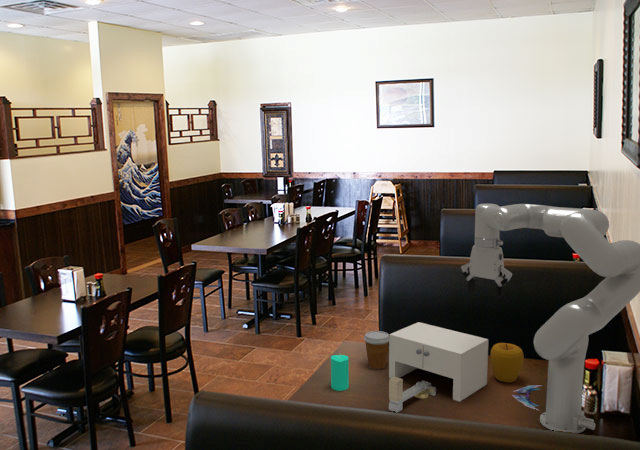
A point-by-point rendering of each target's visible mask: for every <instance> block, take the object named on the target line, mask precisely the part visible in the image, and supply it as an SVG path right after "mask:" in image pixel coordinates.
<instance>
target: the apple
mask: <svg viewBox="0 0 640 450" xmlns="http://www.w3.org/2000/svg"><path fill="white" fill-rule="evenodd" d="M524 356H525V355H524V351H523V349H522V348H521V347H520V346H518V345H516V344H513V343H508V342H507V343H506V342H498V343H495V344H493V346H492V347H491V348H490V364H491V369H492V372H493V376H494V377H495V379H496V380H497V381H499V382H502V383H507V384H508V383H509V384H510V383H513V382H514V381H515V382H516V381H517V379H518V377H519V375H520V374H521V372H522V369H523V366H524V362H525V361H524V360H525V359H524V358H525V357H524Z"/></svg>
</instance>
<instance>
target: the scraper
mask: <svg viewBox="0 0 640 450" xmlns="http://www.w3.org/2000/svg"><path fill="white" fill-rule="evenodd" d="M403 381H404V378H401V377H400V378H398V377H393V378H391V379H390V378H388V400H389V402H388V411H391V412H393V411H395V412H396V414H397V413H399V412H401V411H403V402H405V401H407V400H408V399H411V398H412V397H414V395H416V394H418V393H419V392H421V391H423V390H426V391H428V393H429V395H430V396H433V397H435V396H436V395H437V387H435V386H432V383H431V382H429V381H425V380H421V381H417V382H416V384H414V385H413V386H411V387H409V388H407V389H405V390H403V387H404V384H403ZM395 412H394V413H395Z"/></svg>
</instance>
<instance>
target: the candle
mask: <svg viewBox="0 0 640 450" xmlns="http://www.w3.org/2000/svg"><path fill="white" fill-rule="evenodd" d="M349 358H350V357H349V356H347V355H345V354H341V353H340V352H339V354H335V355H334V354H333V355H331V357H330V381H331V382H330V388H331V389H332V390H334V391H340V392H341V391H342V392H343V391H346V390H348V389H349V387H350V386H349V385H350V382H349V381H350V379H349V378H350V377H349V376H350V375H349V373H350V370H349V368H350V367H349V363H350V361H349V360H350V359H349Z"/></svg>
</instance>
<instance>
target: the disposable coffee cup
mask: <svg viewBox="0 0 640 450" xmlns="http://www.w3.org/2000/svg"><path fill="white" fill-rule="evenodd" d="M363 340H364V341H365V349H366V350H365V351H366V357H367V366H368V367H369V368H370V369H374V370H381V369H384V368H385V367H386V364H387V358H388V357H387V356H388V350H389V333H388V332H385V331H382V330H381V331H380V330H372V331H367V332H365V335H364V337H363Z"/></svg>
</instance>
